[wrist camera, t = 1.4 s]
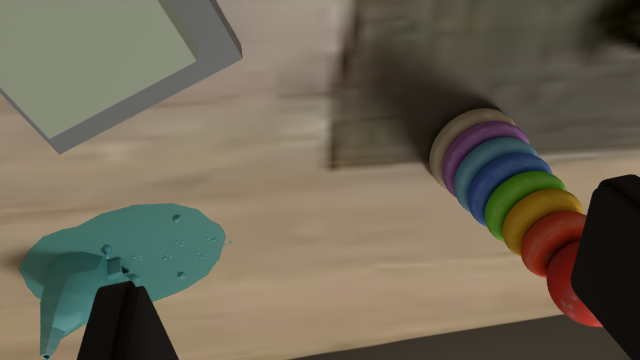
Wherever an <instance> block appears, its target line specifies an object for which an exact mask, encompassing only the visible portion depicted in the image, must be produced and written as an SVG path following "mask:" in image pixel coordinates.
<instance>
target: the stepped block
mask: <svg viewBox="0 0 640 360" xmlns="http://www.w3.org/2000/svg"><path fill="white" fill-rule="evenodd" d="M241 59H243V56H242V49H241V44H240V42H239V40H238V38H237V37H236V35H235V33H234V31H233V30H232V28H231V26H230V24H229V23H228V21H227V19H226V17H225V16H224V14H223V12H222V10H221V9H220V7H219V5H218V3H217V2H216V0H0V93H1V94H2V95H3V96H4V97H5V98H6V99H7V100H8V101H9V103H10V104H11V105H12V106H13V107H14V108H15V109H16V110H17V111H18V112H19V113H20V114H21V115H22V116H23V117H24V118H25V119H26V120H27V121H28V122H29V123H30V124H31V125H32V126H33V128H34V129H35V130H36V131H37V132H38V133H39V134H40V135H41V136H42V137H43V138H44V139H45V140H46V141H47V142H48V143H49V144H50V145H51V146H52V147H53V148H54V149H55V150H56V152H57V153H58V154H59V155H60V154H61V153H63V152H65V151H67V150H69V149H71V148H73V147H75V146H77V145H79V144H80V143H82V142H84V141H86V140H88V139H90V138H92V137H94V136H96V135H98V134H100V133H101V132H103V131H105V130H107V129H109V128H111V127H113V126H115V125H117V124H119V123H121V122H122V121H124V120H126V119H128V118H130V117H132V116H134V115H136V114H138V113H140V112H142V111H143V110H145V109H147V108H149V107H151V106H153V105H155V104H157V103H159V102H161V101H162V100H164V99H166V98H168V97H170V96H172V95H174V94H176V93H178V92H180V91H182V90H183V89H185V88H187V87H189V86H191V85H193V84H195V83H197V82H199V81H201V80H203V79H204V78H206V77H208V76H210V75H212V74H214V73H216V72H218V71H220V70H222V69H223V68H225V67H227V66H229V65H231V64H233V63H235V62H237V61H239V60H241Z"/></svg>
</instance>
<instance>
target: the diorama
mask: <svg viewBox="0 0 640 360" xmlns="http://www.w3.org/2000/svg"><path fill="white" fill-rule="evenodd" d="M224 241H225V233H224V230H223V229H222V228H221V227H220V225H219V224H217V223H215V222H213V221H211V220H210V219H208V218H207V217H206V216H205V215H204V214H202V213H201V212H200V211H199V210H198V209H193V208H189V207H184V206H180V205H176V204H173V203H170V204H145V205H132V206H129V207H125V208H122V209H118V210H114V211H110V212H106V213H102V214H100V215H98V216H96V217H94V218H93V219H91V220H89V221H87V222H85V223H83V224H81V225H79V226H78V227H73V228H68V229H63V230H60V231H58V232H55V233H52V234H49V235H47V236H44V237H42V238H41V239H40V240H39V241H38V242H37V243H36V244H35V245H34V246H33V247H32V248H31V249H30V250H29V251H28V253H27V255H26V257H25V258H24V260H23V262H22V264H21V266H20V267H19V271H20V272H21V274H22V276H23V277H24V279H25V282H26V285H27V287H28V288H29V289H30V290H31V291H32V293H33V294H34V295H35V296H36V297H37V298H39V299H41V302H40V313H41V335H40V356H41V357H42V358H43V359H45V360H49V359H50V358H51V356H52V355H53V353H54V351H55V350H56V348H57V346H58V344H59V342H60V341H61V339H62V338H64V337H65V336H67V335H68V334H70V333H72V332H73V331H75V330H76V329H78V328H80V327H81V326H83V325H85V324H86V323H87V322H88V319H89V316H90V312H91V309H92V305H93V302H94V298H95V295H96V292H97V290H98V288H100V287H102V286H106V285H111V284H116V283H120V282H125V281H132V282H133V283H134V284H135V286H136V287H138V286H144V287H145V288H146V290H147V292H148V294H149V297H150V299H151V301H152V302H153V301H156V300H159V299H162V298H164V297H167V296H170V295H172V294H175V293H177V292H179V291H182V290H184V289H186V288H188V287H189V286H191V285H193V284H194V283H196V282H197V281H199V280H200V279H202V278H203V277H205V276H206V275H208V273H209V272H210V270H211V269H212V267H213V266H214V265H215V264H216V262H217V261H218V260H219V257H220V254H221V251H222V248H223V244H224ZM231 243H232V241H231V242H230V243H229V244H231ZM226 245H227V244H225V246H226Z"/></svg>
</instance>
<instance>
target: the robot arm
mask: <svg viewBox="0 0 640 360" xmlns="http://www.w3.org/2000/svg"><path fill="white" fill-rule="evenodd" d="M570 281H571V286H572V289H573V291H574V293H575V294H576V295H577V296H578V298H579V299H580V300H581V301H582V302H583V303H584V305H585V306H586V307H587V308H588V309H589V310H590V312H591V313H592V314H593V315H594V316H595V317H596V319H597V320H598V321H599V322H600V323H601V324H602V326H603V327H604V328H605V329H606V330H607V331H608V333H609V334H610V335H611V336H612V337H613V338H614V340H615V341H616V342H617V343H618V344H619V345H620V346H621V348H622V349H623V350H624V351H625V352H626V354H627V355H628V356H629V357H630V358H631V359H632V360H640V177H638V176H636V175H632V174H629V175H624V176H619V177H615V178H610V179H606V180H603V181H602V182H601V183H600V184H599V186H598V188H597V189H595V190H594V192H593V194H592V197H591V201H590V205H589V209H588V213H587V216H586V220H585V224H584V228H583V232H582V236H581V239H580V243H579V247H578V251H577V255H576V258H575V262H574V266H573V270H572V274H571V279H570ZM77 360H179V359H178V357H177V354H176V352H175V350H174V348H173V346H172V344H171V342H170V339H169V337H168V335H167V333H166V331H165V329H164V327H163V324H162V322H161V320H160V318H159V316H158V314H157V312H156V309H155V307H154V305H153V303H152V301H151V299H150V297H149V294H148V292H147V290H146V288H145V287H144V286H138V287H136V286H135V284H134V283H133V282H132V281H125V282H120V283H116V284H111V285H106V286H102V287H100V288H98V290H97V292H96V295H95V298H94V302H93V305H92V309H91V312H90V316H89V319H88V322H87V326H86V329H85V333H84V336H83V340H82V343H81V347H80V350H79V353H78V357H77Z"/></svg>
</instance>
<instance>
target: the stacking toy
mask: <svg viewBox="0 0 640 360" xmlns="http://www.w3.org/2000/svg"><path fill="white" fill-rule="evenodd" d="M430 168H431V172H432V174H433V176H434V178H435V179H436V181H437V182H438V183H439V184H440V185H441V186H443V187H444V188H446V189H448V191H449V192H450V193H451V194H452V195H453V196H455V197H456V198H457V200H458V201H459V203H460V204H461V205H462V207H463V208H465V209H466V210H467V211H469V212H470V213H471V214H472V215H473V217H474V218H475V219H476V220H477V221H478V222H479V223H481V224H482V225H484V226H486V227H488V229H489V231H490V232H491V233H492V235H493V236H495V237H496V238H497V239H499V240H501V241H503V242H505V243H506V245H507V247H508V248H509V249H510V250H511V251H512V252H514V253H515V254H517V255H519V256H521V257H522V260H523V262H524V264H525V266H526V267H527V268H528V269H529V270H530V271H531V272H532V273H534V274H536V275H538V276H541V277H545V278H547V286H548V291H549V293H550V296H551V298H552V299H553V301H554V303H555V304H556V305H557V307H558V308H559V309H560V310H561V311H562V312H563V313H564V314H566V315H567V316H568V317H570V318H571V319H573V320H575V321H577V322H579V323H582V324H585V325H588V326H594V327H603V326H602V324H601V323H600V322H599V321H598V320H597V319H596V317H595V316H594V315H593V314H592V313H591V312H590V310H589V309H588V308H587V307H586V306H585V305H584V303H583V302H582V301H581V300H580V299H579V298H578V296H577V295H576V294H575V293H574V291H573V289H572V286H571V281H570V279H571V274H572V270H573V266H574V262H575V258H576V255H577V251H578V247H579V243H580V239H581V236H582V232H583V228H584V224H585V220H586V215H584V214H583V210H582V206H581V204H580V202H579V201H578V199H577V198H576V197H575V196H574V195H573V194H571V193H569V192H568V191H567V190H566V188H565V186H564V184H563V183H562V181H561V180H560V179H558V178H557V177H556V176H554V175H553V174H552V171H551V169H550V168H549V166H548V165H547V164H546V162H544V161H543V160H542V159H541V158H539V156H538V154H537V152H536V151H535V149H534V148H533V147H532V146H531V145H530V143H529V140H528V138H527V136H526V135H525V134H524V132H523V131H522V130H521V129H519V128H518V127H517V126H516V125H515V123H514V122H513V121H512V120H511V119H510V118H509V117H508V116H507V115H505V114H504V113H502V112H500V111H497V110H494V109H486V108H482V109H475V110H471V111H468V112H465V113H463V114H461V115H459V116H457V117H456V118H454V119H453V120H451V121H450V122H449V123H448V124H447V125H446V126H445V127H444V128H443V129H442V130H441V131H440V132H439V134H438V135H437V137H436V139H435V140H434V143H433V145H432V148H431V152H430Z"/></svg>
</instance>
